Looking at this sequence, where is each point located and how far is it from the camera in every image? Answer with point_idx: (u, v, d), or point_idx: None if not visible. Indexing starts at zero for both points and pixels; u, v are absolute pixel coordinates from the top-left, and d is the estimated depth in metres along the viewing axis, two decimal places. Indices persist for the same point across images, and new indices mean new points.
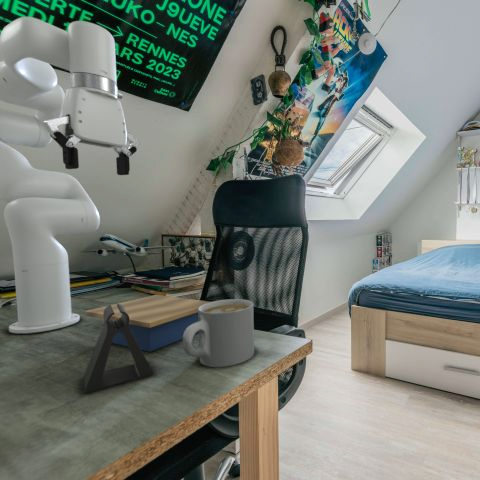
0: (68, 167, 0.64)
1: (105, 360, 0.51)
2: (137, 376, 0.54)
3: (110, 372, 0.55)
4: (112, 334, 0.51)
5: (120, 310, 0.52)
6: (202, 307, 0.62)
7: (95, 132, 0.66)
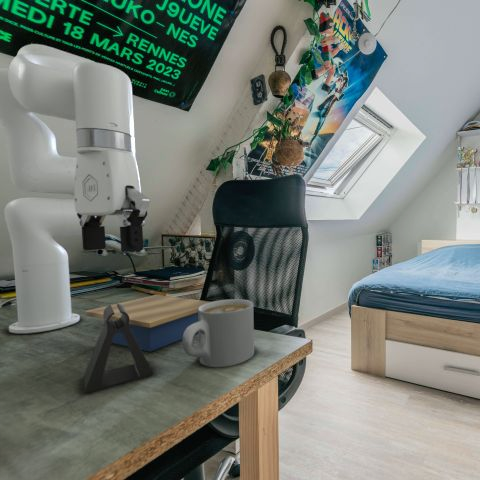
0: (129, 250, 0.51)
1: (105, 360, 0.51)
2: (137, 376, 0.54)
3: (110, 372, 0.55)
4: (112, 334, 0.51)
5: (120, 310, 0.52)
6: (202, 307, 0.62)
7: None
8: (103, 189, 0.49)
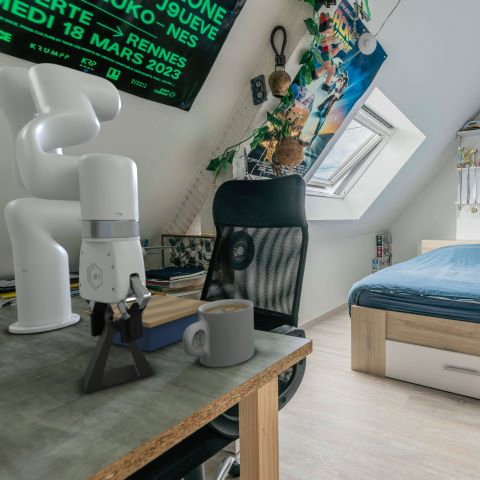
0: (129, 340, 0.52)
1: (105, 360, 0.51)
2: (137, 376, 0.54)
3: (110, 372, 0.55)
4: (112, 334, 0.51)
5: None
6: (202, 307, 0.62)
7: None
8: (108, 280, 0.50)
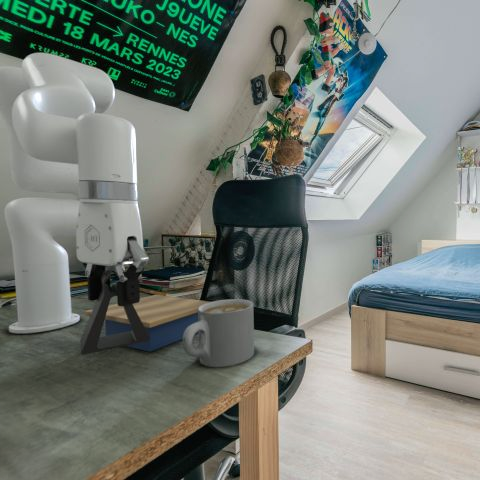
0: (126, 303, 0.52)
1: (102, 322, 0.51)
2: (134, 341, 0.54)
3: (107, 337, 0.55)
4: (109, 297, 0.51)
5: (117, 274, 0.52)
6: (202, 307, 0.62)
7: None
8: (105, 241, 0.49)
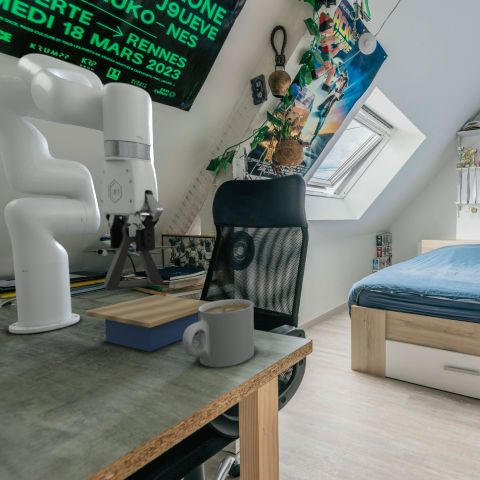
0: (143, 249, 0.60)
1: (123, 264, 0.59)
2: (150, 283, 0.62)
3: (126, 281, 0.63)
4: (129, 242, 0.59)
5: None
6: (202, 307, 0.62)
7: None
8: (126, 193, 0.57)
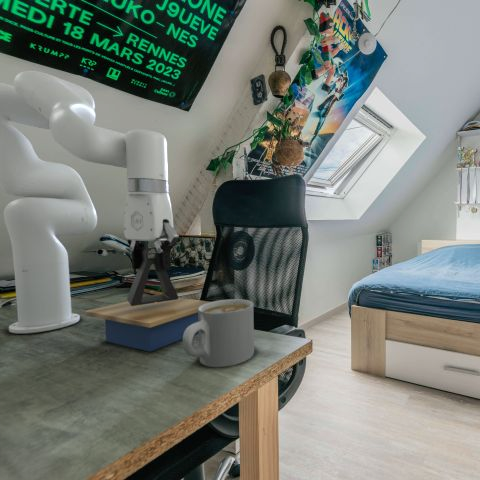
0: (161, 269, 0.70)
1: (144, 283, 0.68)
2: (167, 298, 0.72)
3: (146, 297, 0.73)
4: (149, 264, 0.69)
5: None
6: (202, 307, 0.62)
7: None
8: (147, 222, 0.67)
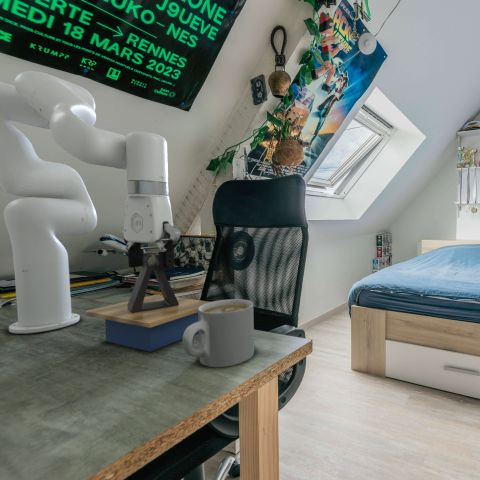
0: (165, 268, 0.69)
1: (145, 290, 0.69)
2: (167, 305, 0.72)
3: (146, 303, 0.73)
4: (150, 271, 0.69)
5: (155, 254, 0.70)
6: (202, 307, 0.62)
7: None
8: (147, 225, 0.67)
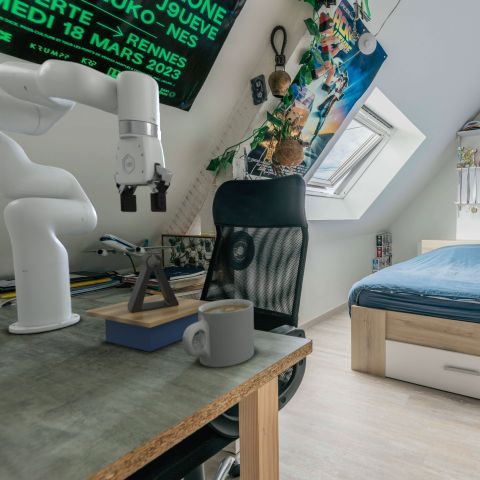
0: (157, 210, 0.69)
1: (145, 290, 0.69)
2: (167, 305, 0.72)
3: (146, 303, 0.73)
4: (150, 271, 0.69)
5: (155, 254, 0.70)
6: (202, 307, 0.62)
7: None
8: (138, 165, 0.67)
